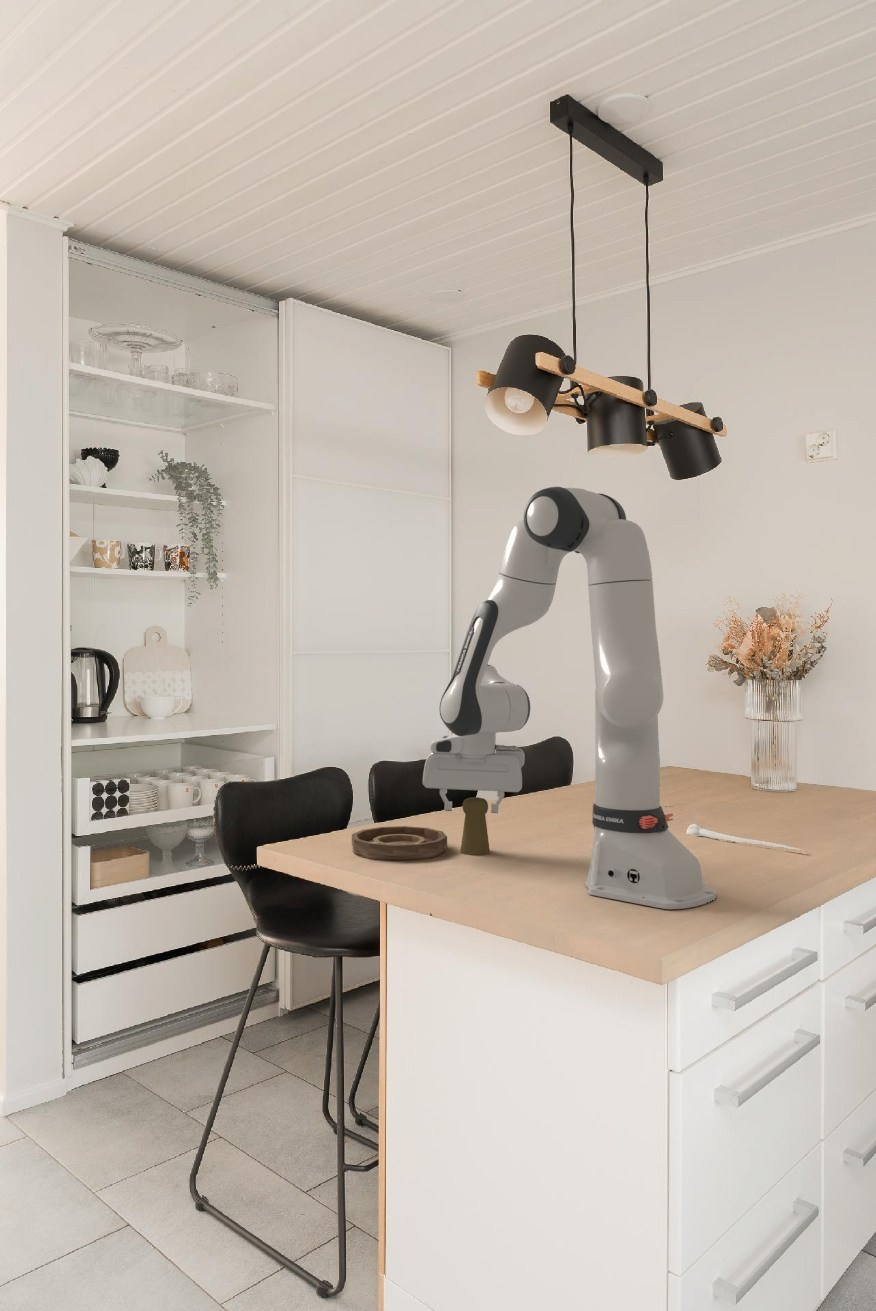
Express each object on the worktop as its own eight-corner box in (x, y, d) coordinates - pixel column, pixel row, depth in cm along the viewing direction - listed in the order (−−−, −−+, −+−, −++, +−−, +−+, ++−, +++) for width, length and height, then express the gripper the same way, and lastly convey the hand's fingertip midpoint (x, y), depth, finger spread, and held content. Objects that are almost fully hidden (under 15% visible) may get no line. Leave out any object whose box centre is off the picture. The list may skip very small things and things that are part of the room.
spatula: (814, 855, 191) (814, 841, 191) (805, 858, 188) (805, 843, 188) (693, 834, 211) (693, 821, 211) (683, 836, 209) (683, 824, 209)
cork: (487, 855, 187) (487, 800, 187) (457, 854, 188) (458, 799, 188) (492, 849, 193) (492, 796, 193) (463, 848, 194) (463, 795, 194)
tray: (464, 851, 191) (464, 836, 191) (390, 865, 179) (390, 849, 179) (406, 836, 205) (406, 823, 205) (334, 848, 193) (334, 834, 193)
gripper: (524, 744, 193) (522, 811, 193) (425, 740, 194) (423, 806, 195) (525, 747, 187) (522, 817, 187) (423, 743, 188) (420, 812, 188)
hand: (471, 811), depth 191 cm, fingers open, 8 cm apart
